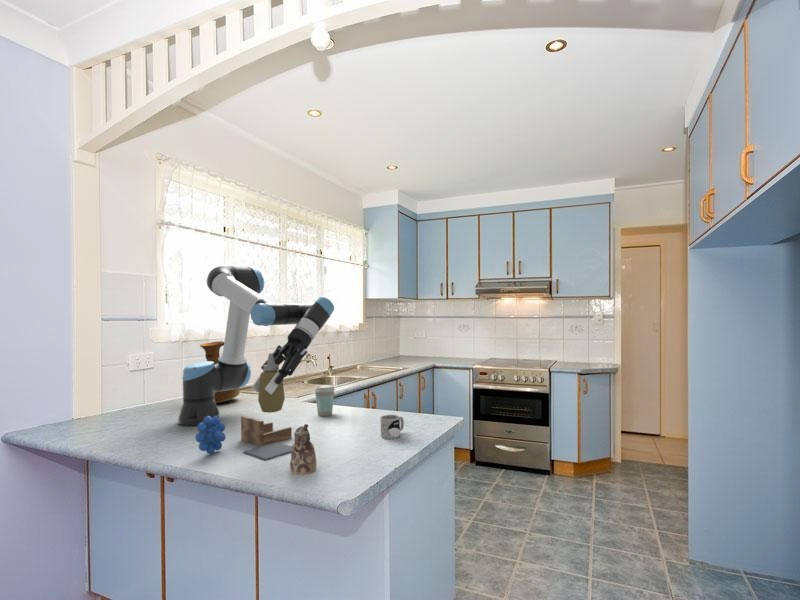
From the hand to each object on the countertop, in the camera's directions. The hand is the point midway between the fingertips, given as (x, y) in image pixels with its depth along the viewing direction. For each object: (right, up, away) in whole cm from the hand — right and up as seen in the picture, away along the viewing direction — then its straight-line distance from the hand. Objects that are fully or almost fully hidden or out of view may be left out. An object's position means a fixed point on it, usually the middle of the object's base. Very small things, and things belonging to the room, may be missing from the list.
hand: (261, 390), depth 134 cm
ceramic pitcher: (-47, -22, +80) cm, 95 cm away
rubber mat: (+2, -20, +3) cm, 20 cm away
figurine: (+16, -19, -14) cm, 29 cm away
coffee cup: (+11, -21, +50) cm, 55 cm away
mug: (+41, -20, +18) cm, 48 cm away
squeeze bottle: (+2, -7, +3) cm, 8 cm away
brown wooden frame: (-3, -20, +16) cm, 26 cm away
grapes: (-15, -20, +1) cm, 25 cm away
